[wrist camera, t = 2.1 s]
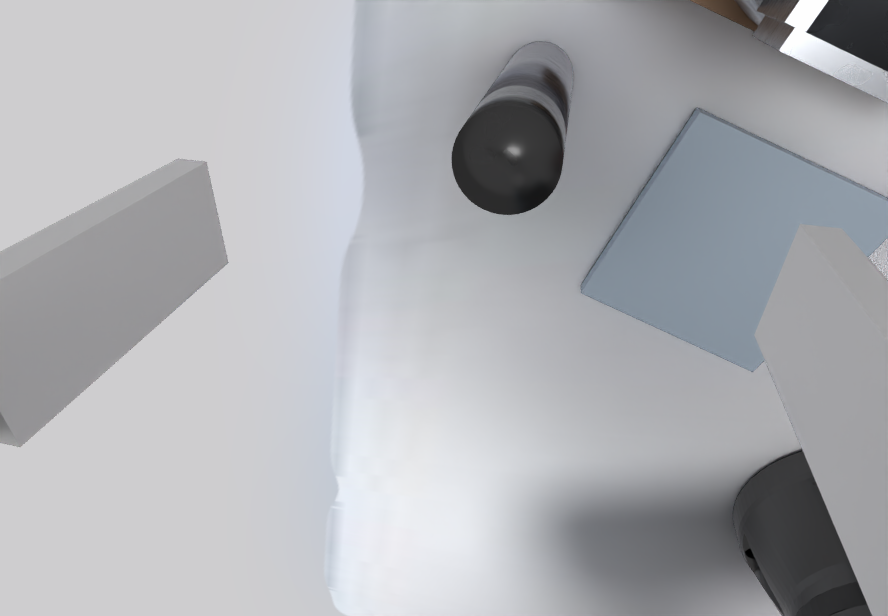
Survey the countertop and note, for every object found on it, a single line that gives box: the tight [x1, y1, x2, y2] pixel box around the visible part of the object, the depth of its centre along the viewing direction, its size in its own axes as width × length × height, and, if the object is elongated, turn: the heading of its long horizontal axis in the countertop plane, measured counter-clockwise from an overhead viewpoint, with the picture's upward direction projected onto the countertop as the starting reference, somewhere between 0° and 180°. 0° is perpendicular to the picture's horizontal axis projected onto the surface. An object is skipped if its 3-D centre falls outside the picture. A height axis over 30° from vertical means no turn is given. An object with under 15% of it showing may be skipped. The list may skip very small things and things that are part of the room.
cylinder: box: [452, 41, 574, 215], centre depth 24 cm, size 4×4×14 cm
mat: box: [581, 108, 888, 372], centre depth 32 cm, size 12×12×1 cm
